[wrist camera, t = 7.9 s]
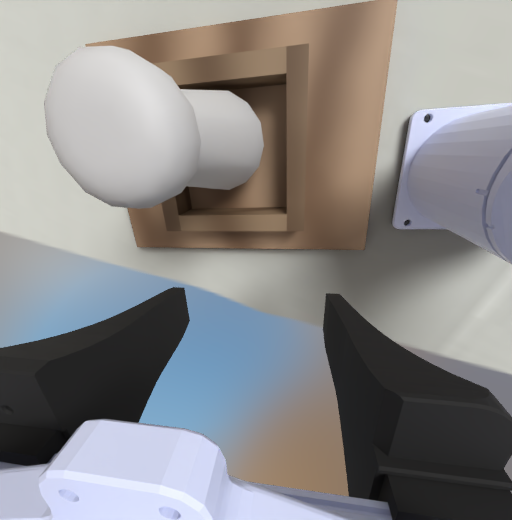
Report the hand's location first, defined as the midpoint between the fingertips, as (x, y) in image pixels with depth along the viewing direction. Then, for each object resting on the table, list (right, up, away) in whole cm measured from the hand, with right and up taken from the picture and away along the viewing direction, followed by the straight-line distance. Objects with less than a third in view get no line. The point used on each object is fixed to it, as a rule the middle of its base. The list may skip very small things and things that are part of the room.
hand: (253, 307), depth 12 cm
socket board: (-1, +11, +7) cm, 13 cm away
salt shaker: (-2, +11, +6) cm, 13 cm away
